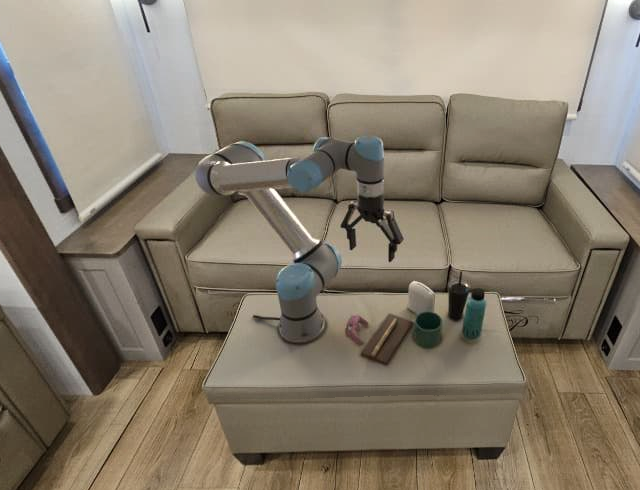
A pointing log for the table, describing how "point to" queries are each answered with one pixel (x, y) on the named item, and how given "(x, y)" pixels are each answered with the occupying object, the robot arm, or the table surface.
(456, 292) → the drinking cup
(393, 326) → the stirrer
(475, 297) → the beverage bottle
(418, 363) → the table surface
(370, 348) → the board
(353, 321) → the video game controller
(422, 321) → the coffee cup
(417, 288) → the photo printer
